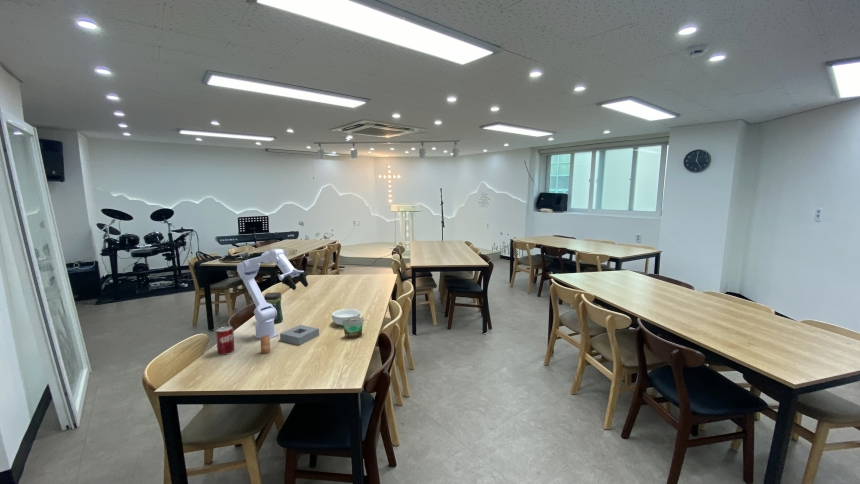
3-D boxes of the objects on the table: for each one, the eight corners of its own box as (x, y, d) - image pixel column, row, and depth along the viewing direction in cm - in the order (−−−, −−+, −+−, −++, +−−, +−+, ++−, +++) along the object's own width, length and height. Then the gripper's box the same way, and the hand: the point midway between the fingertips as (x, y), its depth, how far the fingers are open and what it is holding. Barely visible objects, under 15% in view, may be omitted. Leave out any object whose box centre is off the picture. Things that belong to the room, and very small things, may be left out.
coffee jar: (284, 319, 208) (283, 290, 206) (280, 323, 200) (278, 294, 198) (268, 319, 207) (266, 291, 205) (263, 324, 199) (262, 294, 197)
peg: (259, 353, 160) (258, 337, 159) (266, 349, 164) (265, 334, 163) (265, 354, 159) (264, 338, 158) (272, 351, 162) (271, 335, 161)
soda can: (238, 350, 164) (236, 327, 162) (224, 356, 157) (223, 332, 156) (227, 348, 166) (225, 325, 165) (213, 354, 159) (212, 330, 158)
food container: (344, 340, 175) (344, 322, 174) (342, 336, 180) (341, 319, 179) (367, 336, 181) (366, 319, 180) (364, 332, 186) (363, 315, 185)
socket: (280, 340, 175) (279, 333, 175) (300, 331, 188) (300, 324, 187) (299, 345, 169) (299, 337, 169) (319, 335, 182) (318, 328, 182)
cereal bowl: (366, 322, 203) (365, 311, 202) (345, 331, 189) (345, 319, 188) (346, 317, 212) (346, 306, 211) (326, 325, 198) (325, 313, 197)
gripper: (278, 264, 160) (293, 285, 157) (301, 260, 173) (315, 279, 170) (271, 273, 163) (286, 294, 159) (294, 269, 176) (309, 288, 172)
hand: (301, 287), depth 165 cm, fingers open, 7 cm apart
